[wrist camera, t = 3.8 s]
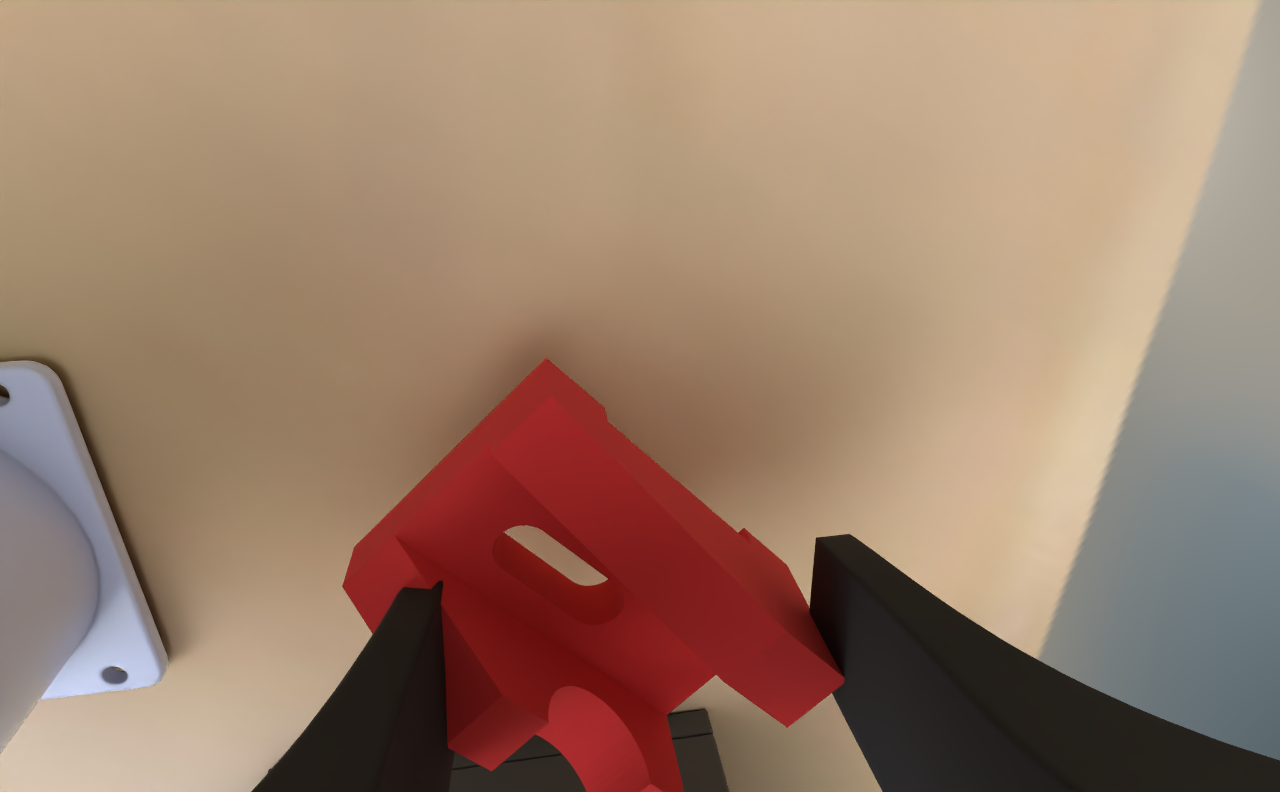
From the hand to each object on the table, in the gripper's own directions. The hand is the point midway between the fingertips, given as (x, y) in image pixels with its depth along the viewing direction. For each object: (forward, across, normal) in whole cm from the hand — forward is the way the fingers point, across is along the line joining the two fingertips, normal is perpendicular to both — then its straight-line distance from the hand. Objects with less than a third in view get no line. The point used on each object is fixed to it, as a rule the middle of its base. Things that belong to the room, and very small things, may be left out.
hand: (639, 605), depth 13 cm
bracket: (+2, +1, 0) cm, 2 cm away
